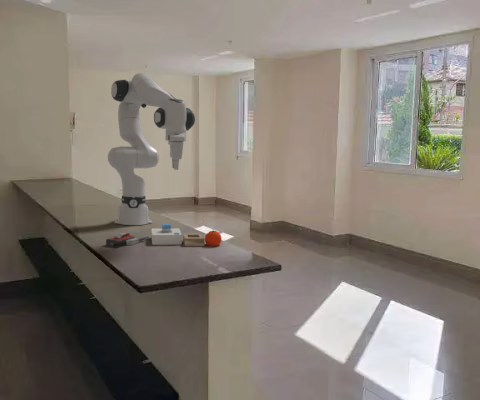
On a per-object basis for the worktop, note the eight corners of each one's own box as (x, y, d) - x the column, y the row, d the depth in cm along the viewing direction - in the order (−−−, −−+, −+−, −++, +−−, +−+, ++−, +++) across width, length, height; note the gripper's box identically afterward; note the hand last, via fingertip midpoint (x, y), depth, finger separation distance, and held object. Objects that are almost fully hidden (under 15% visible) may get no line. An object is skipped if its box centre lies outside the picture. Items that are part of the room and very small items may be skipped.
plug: (161, 239, 210) (162, 223, 209) (170, 239, 211) (170, 223, 210) (162, 241, 207) (162, 225, 206) (170, 241, 208) (170, 225, 207)
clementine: (205, 244, 209) (206, 228, 208) (222, 245, 209) (222, 228, 208) (203, 248, 201) (204, 231, 200) (220, 249, 201) (221, 232, 200)
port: (151, 239, 215) (151, 227, 214) (178, 239, 217) (179, 227, 216) (152, 247, 201) (152, 234, 200) (181, 246, 203) (181, 234, 203)
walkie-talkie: (119, 249, 196) (150, 240, 214) (119, 238, 196) (150, 230, 214) (102, 246, 200) (134, 238, 218) (102, 235, 200) (134, 228, 217)
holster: (182, 242, 210) (182, 233, 210) (201, 242, 212) (201, 233, 212) (184, 248, 201) (185, 238, 200) (204, 248, 202) (204, 238, 202)
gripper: (167, 136, 222) (166, 167, 224) (169, 136, 202) (169, 170, 204) (181, 136, 223) (180, 167, 225) (185, 137, 204) (184, 170, 205)
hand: (175, 168), depth 214 cm, fingers open, 8 cm apart
